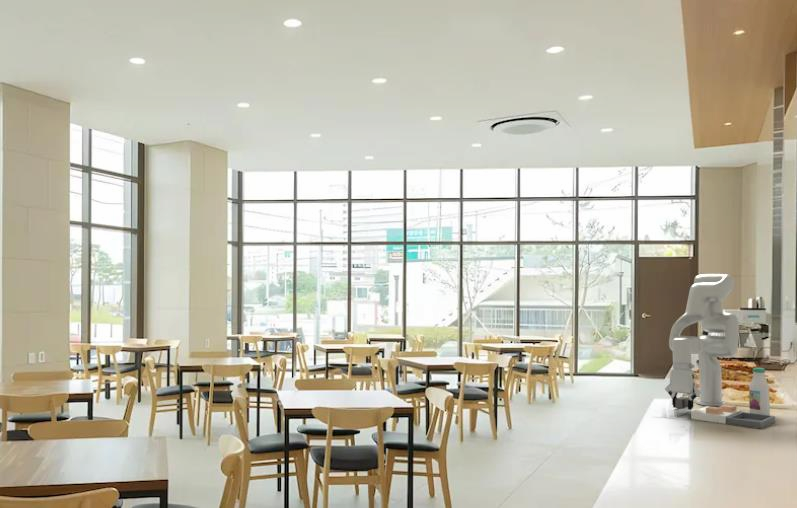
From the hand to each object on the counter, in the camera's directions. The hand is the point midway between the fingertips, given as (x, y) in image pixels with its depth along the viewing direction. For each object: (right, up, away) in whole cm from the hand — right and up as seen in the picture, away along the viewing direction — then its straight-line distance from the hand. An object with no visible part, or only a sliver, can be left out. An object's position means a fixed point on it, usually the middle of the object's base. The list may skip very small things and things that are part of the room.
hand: (682, 407), depth 311 cm
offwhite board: (+10, -2, -10) cm, 14 cm away
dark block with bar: (0, -3, 0) cm, 3 cm away
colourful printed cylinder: (+31, -2, -4) cm, 32 cm away
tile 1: (+8, +1, -13) cm, 16 cm away
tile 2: (+15, +1, -10) cm, 18 cm away
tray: (+20, -2, -20) cm, 28 cm away
